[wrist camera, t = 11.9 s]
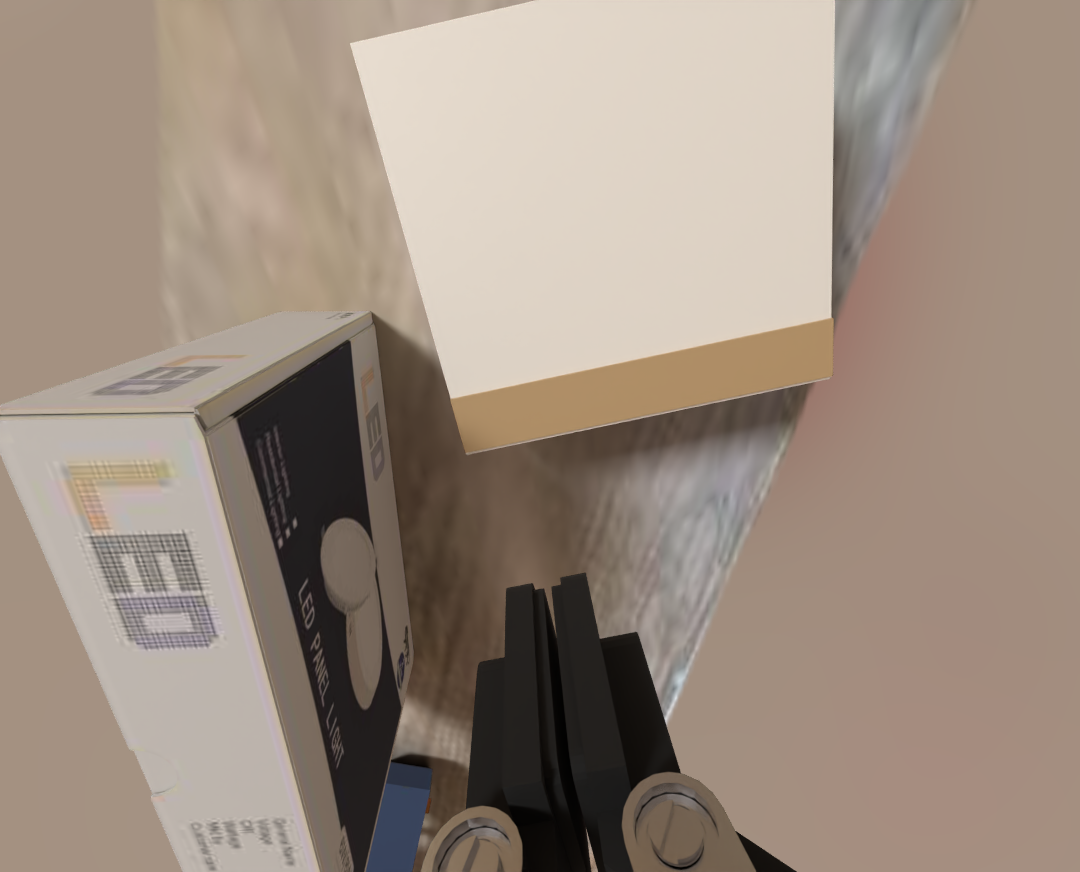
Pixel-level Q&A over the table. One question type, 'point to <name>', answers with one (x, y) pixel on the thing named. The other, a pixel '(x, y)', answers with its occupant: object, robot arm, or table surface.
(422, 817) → the glue gun
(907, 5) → the table surface
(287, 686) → the packaging
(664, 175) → the lid
